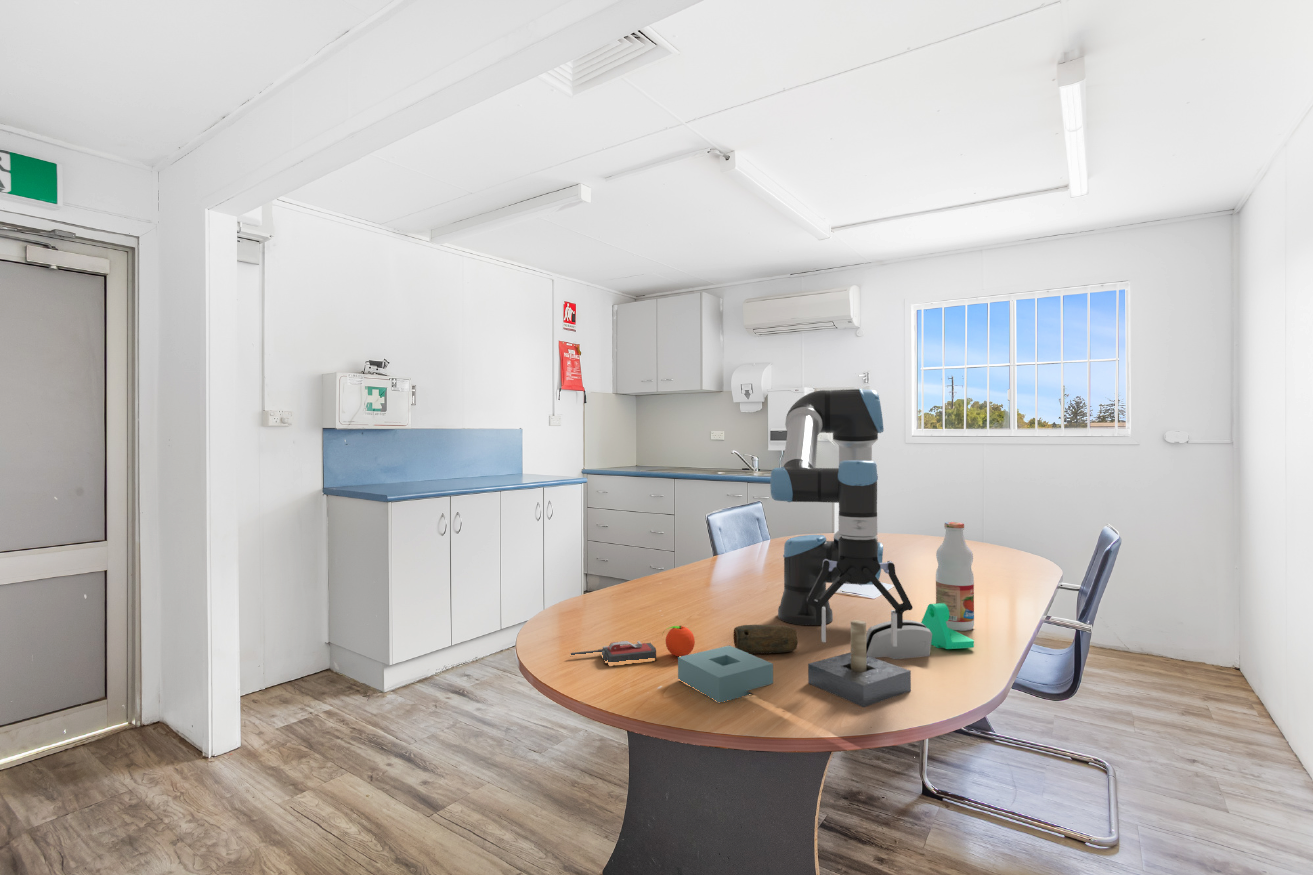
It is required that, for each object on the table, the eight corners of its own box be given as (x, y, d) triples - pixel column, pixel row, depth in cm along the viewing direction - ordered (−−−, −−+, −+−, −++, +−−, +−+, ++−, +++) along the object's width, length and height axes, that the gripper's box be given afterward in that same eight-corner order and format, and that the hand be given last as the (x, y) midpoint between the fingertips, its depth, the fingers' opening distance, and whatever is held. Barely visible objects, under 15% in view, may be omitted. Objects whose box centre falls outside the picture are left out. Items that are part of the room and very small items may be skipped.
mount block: (808, 688, 132) (808, 663, 132) (854, 674, 140) (854, 651, 140) (863, 712, 120) (863, 685, 120) (910, 695, 128) (910, 670, 128)
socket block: (678, 680, 136) (677, 657, 136) (729, 667, 144) (729, 645, 144) (719, 703, 125) (719, 677, 125) (773, 687, 132) (772, 663, 132)
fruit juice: (935, 620, 181) (934, 520, 181) (972, 623, 178) (972, 521, 178) (936, 629, 172) (936, 524, 172) (975, 633, 169) (975, 526, 169)
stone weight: (739, 659, 150) (739, 630, 150) (731, 649, 157) (731, 622, 157) (800, 655, 152) (800, 627, 152) (789, 646, 159) (789, 619, 159)
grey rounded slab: (916, 649, 156) (925, 613, 153) (928, 661, 152) (938, 625, 149) (855, 655, 152) (863, 619, 149) (865, 668, 148) (874, 631, 145)
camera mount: (975, 651, 154) (975, 609, 155) (946, 653, 153) (946, 610, 153) (946, 636, 166) (946, 596, 166) (918, 638, 165) (918, 598, 165)
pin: (847, 686, 130) (847, 621, 130) (857, 682, 132) (857, 619, 132) (859, 690, 128) (859, 625, 128) (869, 687, 130) (869, 623, 130)
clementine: (657, 658, 150) (657, 628, 150) (666, 649, 157) (666, 620, 157) (689, 662, 148) (689, 631, 148) (698, 653, 154) (698, 623, 154)
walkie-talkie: (651, 650, 157) (569, 659, 151) (651, 632, 157) (569, 640, 151) (662, 662, 149) (575, 672, 143) (662, 643, 149) (575, 652, 143)
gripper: (794, 537, 129) (795, 643, 129) (927, 541, 124) (928, 652, 124) (794, 532, 136) (795, 633, 136) (920, 535, 131) (920, 640, 131)
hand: (858, 642), depth 130 cm, fingers open, 13 cm apart
